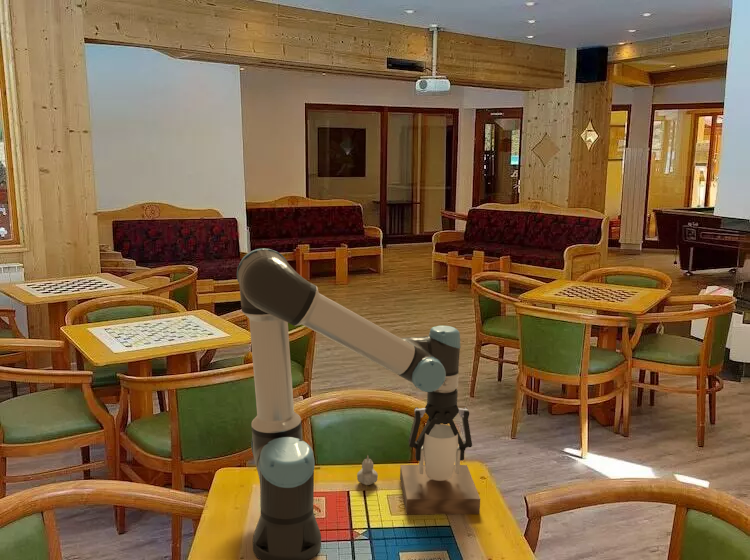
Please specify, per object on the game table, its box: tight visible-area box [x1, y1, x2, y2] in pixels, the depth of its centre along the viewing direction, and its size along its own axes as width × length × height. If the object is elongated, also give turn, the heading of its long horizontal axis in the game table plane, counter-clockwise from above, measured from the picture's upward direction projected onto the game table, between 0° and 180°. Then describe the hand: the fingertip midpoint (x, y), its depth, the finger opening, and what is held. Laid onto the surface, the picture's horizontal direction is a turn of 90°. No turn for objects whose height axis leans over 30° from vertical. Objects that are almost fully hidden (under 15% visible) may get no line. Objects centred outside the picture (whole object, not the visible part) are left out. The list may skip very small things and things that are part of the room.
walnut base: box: [399, 464, 481, 515], centre depth 175 cm, size 18×18×4 cm
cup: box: [423, 424, 459, 481], centre depth 173 cm, size 9×9×12 cm
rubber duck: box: [356, 455, 379, 486], centre depth 179 cm, size 5×7×8 cm
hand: (438, 471), depth 174 cm, fingers closed on cup, 9 cm apart
